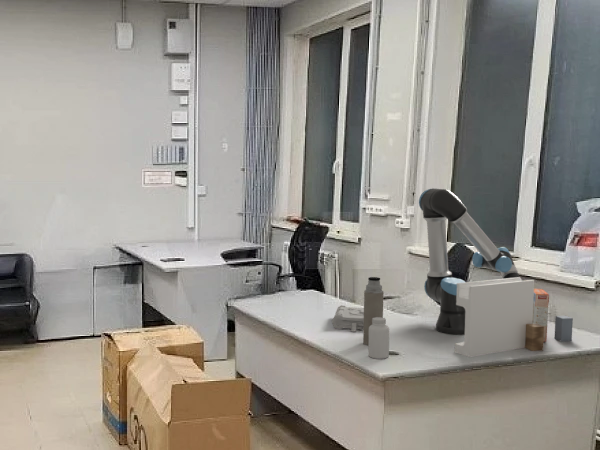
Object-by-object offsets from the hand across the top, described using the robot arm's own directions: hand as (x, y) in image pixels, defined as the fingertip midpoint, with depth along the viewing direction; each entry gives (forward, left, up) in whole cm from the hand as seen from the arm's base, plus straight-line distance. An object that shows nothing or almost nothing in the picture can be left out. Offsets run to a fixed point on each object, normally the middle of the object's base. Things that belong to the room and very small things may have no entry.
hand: (528, 318), depth 278 cm
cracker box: (0, -9, -7) cm, 11 cm away
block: (-28, -23, -7) cm, 37 cm away
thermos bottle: (-75, -9, -7) cm, 76 cm away
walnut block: (-11, -25, -7) cm, 28 cm away
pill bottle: (-78, -27, -7) cm, 83 cm away
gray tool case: (-75, +24, -7) cm, 79 cm away
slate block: (+10, -13, -7) cm, 17 cm away
